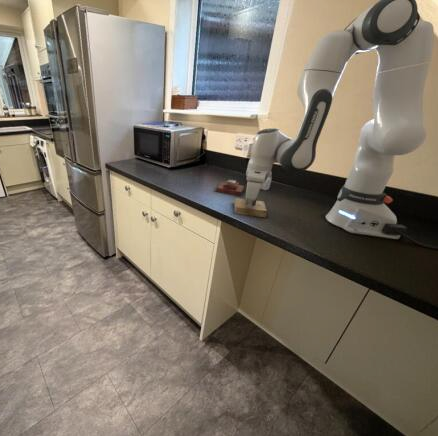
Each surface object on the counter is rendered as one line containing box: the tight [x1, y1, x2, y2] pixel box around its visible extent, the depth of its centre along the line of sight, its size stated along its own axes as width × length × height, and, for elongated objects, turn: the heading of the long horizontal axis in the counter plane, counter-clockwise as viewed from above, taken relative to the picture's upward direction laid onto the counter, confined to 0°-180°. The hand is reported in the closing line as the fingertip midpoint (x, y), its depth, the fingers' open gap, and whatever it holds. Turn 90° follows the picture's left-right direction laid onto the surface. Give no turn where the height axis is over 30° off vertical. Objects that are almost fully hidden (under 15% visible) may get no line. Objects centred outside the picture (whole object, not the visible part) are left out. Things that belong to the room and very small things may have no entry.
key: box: [227, 179, 237, 185], centre depth 120 cm, size 4×4×2 cm
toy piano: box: [215, 180, 245, 197], centre depth 122 cm, size 12×10×4 cm
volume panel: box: [233, 197, 268, 218], centre depth 101 cm, size 12×10×3 cm
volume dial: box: [245, 197, 258, 206], centre depth 100 cm, size 4×4×4 cm
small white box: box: [260, 171, 273, 191], centre depth 124 cm, size 4×7×10 cm, turn 33°
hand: (250, 202), depth 100 cm, fingers open, 8 cm apart
